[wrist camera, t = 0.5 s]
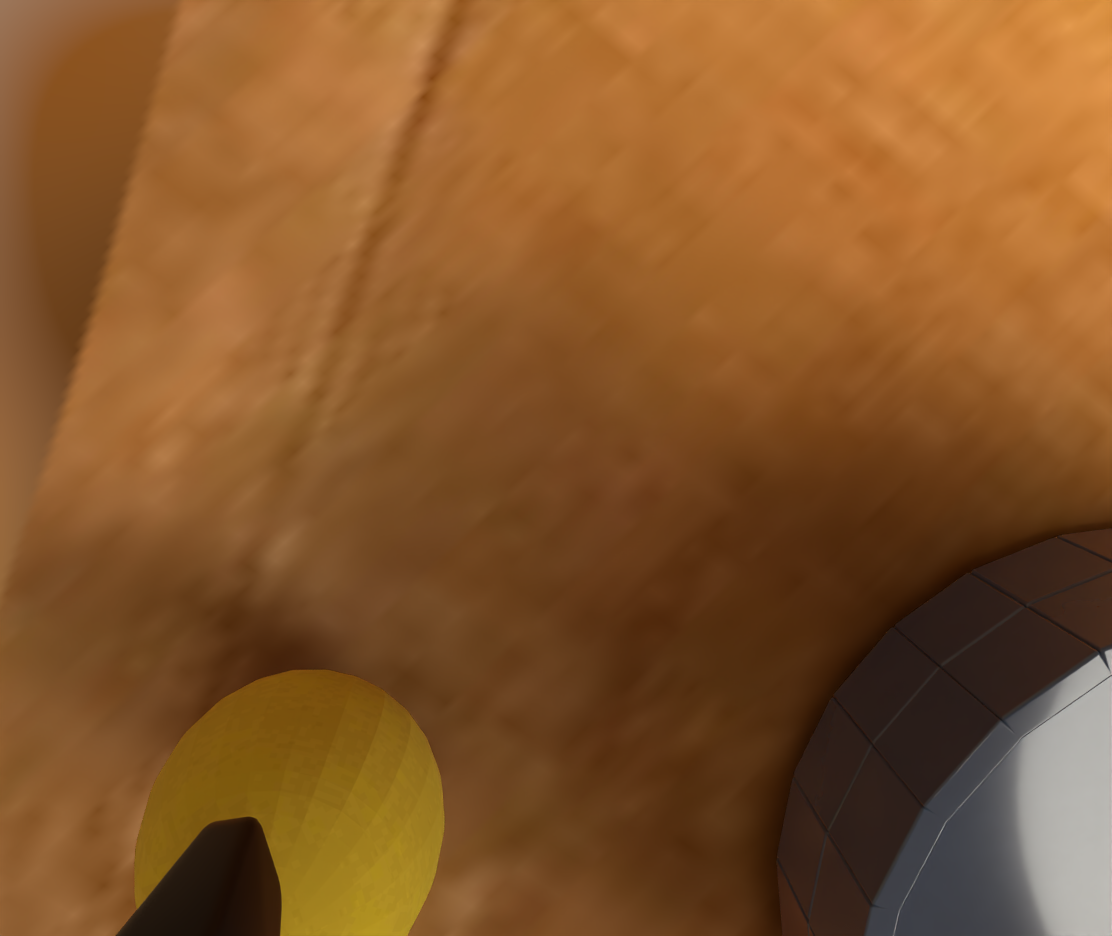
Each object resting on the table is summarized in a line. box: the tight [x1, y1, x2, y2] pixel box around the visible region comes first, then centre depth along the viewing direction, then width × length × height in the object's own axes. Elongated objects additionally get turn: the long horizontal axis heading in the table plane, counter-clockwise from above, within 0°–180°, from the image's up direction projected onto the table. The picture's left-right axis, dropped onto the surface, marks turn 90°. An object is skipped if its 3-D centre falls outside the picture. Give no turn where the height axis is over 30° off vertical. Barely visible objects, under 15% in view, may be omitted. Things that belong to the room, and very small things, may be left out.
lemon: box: [134, 669, 445, 936], centre depth 19 cm, size 6×6×8 cm
